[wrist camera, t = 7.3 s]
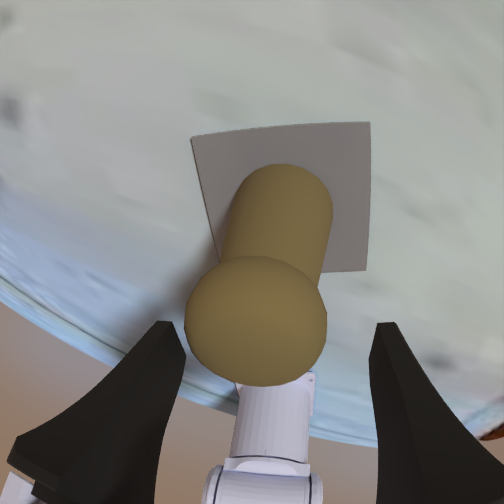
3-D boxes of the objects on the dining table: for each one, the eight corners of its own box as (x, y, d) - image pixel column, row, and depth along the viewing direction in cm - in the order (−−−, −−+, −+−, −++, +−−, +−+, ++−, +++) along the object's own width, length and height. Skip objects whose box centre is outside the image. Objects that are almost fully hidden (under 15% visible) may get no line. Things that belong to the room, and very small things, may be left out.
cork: (233, 246, 21) (173, 389, 12) (234, 158, 18) (144, 277, 9) (325, 259, 20) (318, 415, 11) (341, 170, 17) (362, 310, 8)
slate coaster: (363, 260, 22) (366, 270, 21) (226, 265, 24) (223, 275, 23) (365, 118, 16) (370, 122, 15) (196, 132, 18) (190, 137, 17)
